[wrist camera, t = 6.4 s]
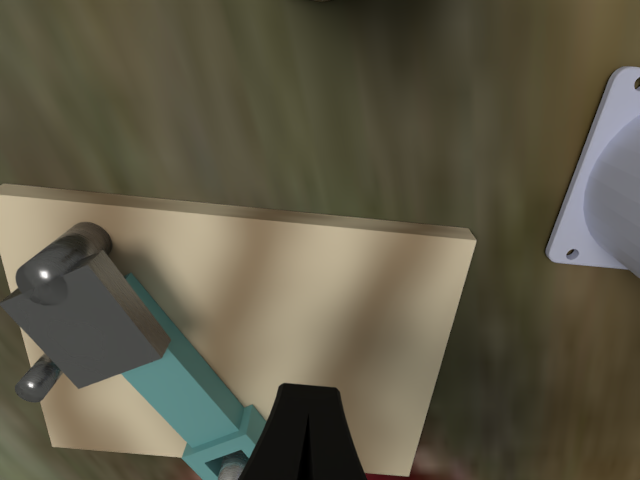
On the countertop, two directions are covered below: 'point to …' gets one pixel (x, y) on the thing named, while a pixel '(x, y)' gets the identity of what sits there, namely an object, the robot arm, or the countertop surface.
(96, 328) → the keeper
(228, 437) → the link
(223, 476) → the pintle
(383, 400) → the base board
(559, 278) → the countertop surface
